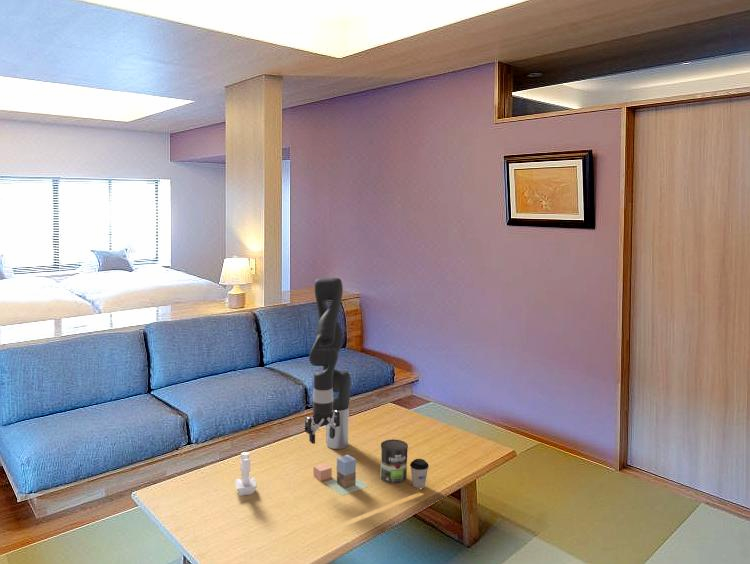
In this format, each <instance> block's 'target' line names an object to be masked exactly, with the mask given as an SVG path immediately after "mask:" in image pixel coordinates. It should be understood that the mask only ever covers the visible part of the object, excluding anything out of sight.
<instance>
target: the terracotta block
mask: <svg viewBox="0 0 750 564" xmlns="http://www.w3.org/2000/svg"><path fill="white" fill-rule="evenodd" d="M312 472H313V475H312V476H313V477H314V478H315V479H317V480H318V481H320V482H322V481H325V480H328V479H331V478H333V477H332V476H333V475H332V474H333V473H332V472H333V470H332V467H331V466H330V465H329V464H327V463H325V462H323V463H319V464H317V465H314V466H313V471H312Z"/></svg>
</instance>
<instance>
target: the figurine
mask: <svg viewBox="0 0 750 564" xmlns="http://www.w3.org/2000/svg"><path fill="white" fill-rule="evenodd" d="M250 456H251V455H250V452H248V451H243V452H241V453H240V462H239V463H240V471H241V478H237V479H234V480H233V481H234V484H235V485H234V486H235V487H236V491H237V493H238V494H239V496H240V497H241V496H247V495H248V496H249V495H253V494H254V492H255V491H256V489H257V487H258V484H257V482H256V478H255V476H250V472H251V459H250Z"/></svg>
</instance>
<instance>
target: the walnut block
mask: <svg viewBox="0 0 750 564" xmlns="http://www.w3.org/2000/svg"><path fill="white" fill-rule="evenodd" d="M356 475H357V471H356V472H354V473H351V474H349V475H346V476H344V475H343V474H341V473H340V472H338V471H337V470H336V478H337V484H339V485H340V486H341V487H343V488H344V489H345V488H348V487H351V486H354V485H356V478H357V477H356Z"/></svg>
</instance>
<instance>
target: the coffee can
mask: <svg viewBox="0 0 750 564" xmlns="http://www.w3.org/2000/svg"><path fill="white" fill-rule="evenodd" d="M380 447H381V448H380V476H379V477H380V479H381V480H382V481H383V482H384V483H387V484H395V485H396V484H400V483H404V482H405V481H407V480H406V479H407V473H408V472H407V471H408V451H409V450H408V448H409V445H408V443H407V442H405V441H403V440H401V439H387V440H386V439H385V440H384V441H382V442H381V443H380Z"/></svg>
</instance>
